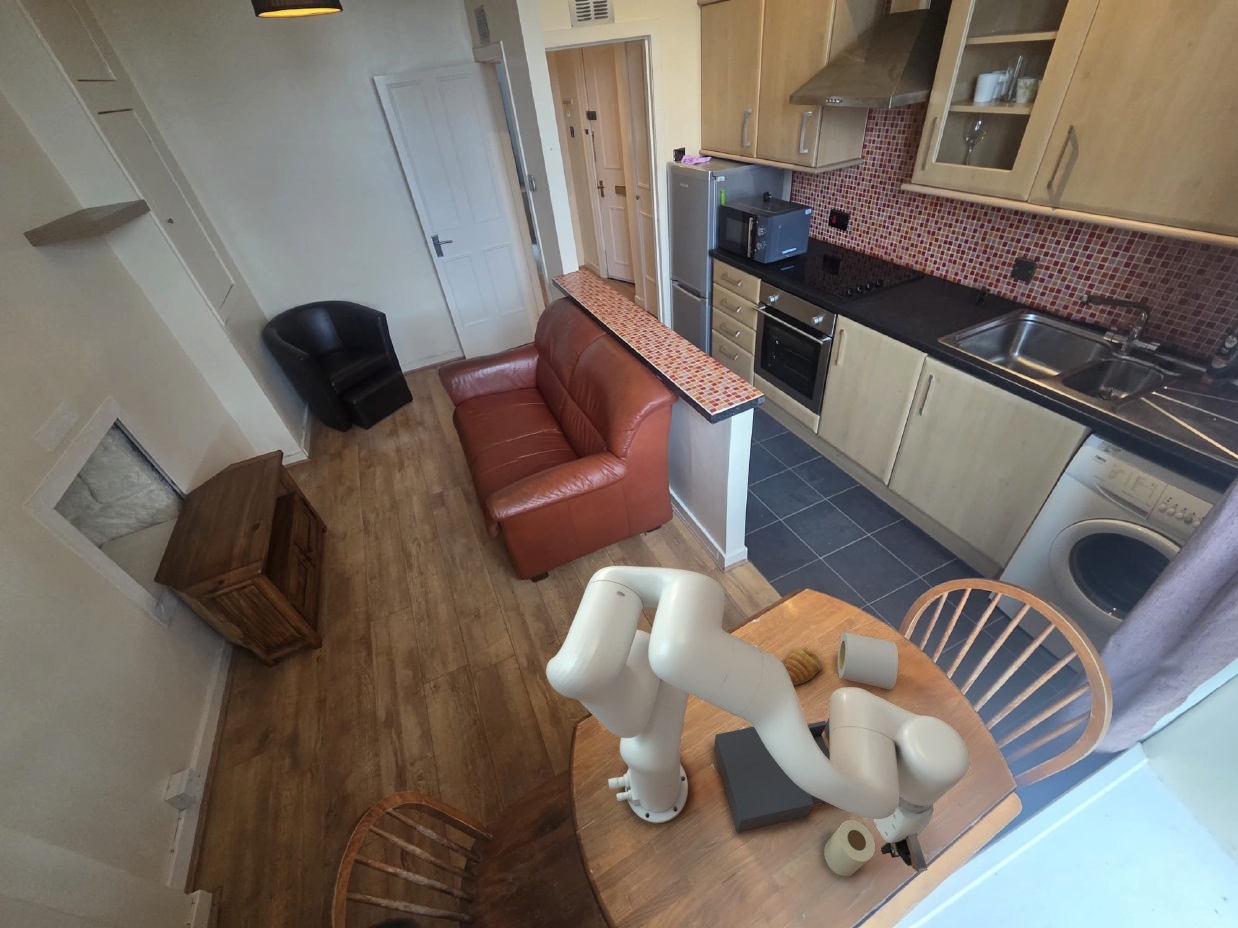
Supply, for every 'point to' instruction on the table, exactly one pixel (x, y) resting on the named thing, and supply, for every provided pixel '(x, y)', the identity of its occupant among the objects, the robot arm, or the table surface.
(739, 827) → the cabinet
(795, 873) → the table surface
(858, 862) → the paper roll
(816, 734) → the drawer
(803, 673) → the pastry
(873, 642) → the toilet paper
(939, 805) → the table surface
